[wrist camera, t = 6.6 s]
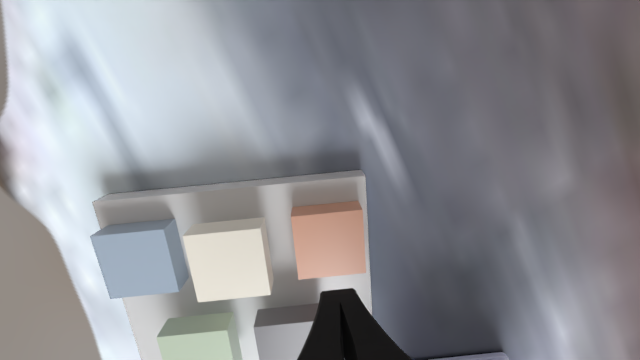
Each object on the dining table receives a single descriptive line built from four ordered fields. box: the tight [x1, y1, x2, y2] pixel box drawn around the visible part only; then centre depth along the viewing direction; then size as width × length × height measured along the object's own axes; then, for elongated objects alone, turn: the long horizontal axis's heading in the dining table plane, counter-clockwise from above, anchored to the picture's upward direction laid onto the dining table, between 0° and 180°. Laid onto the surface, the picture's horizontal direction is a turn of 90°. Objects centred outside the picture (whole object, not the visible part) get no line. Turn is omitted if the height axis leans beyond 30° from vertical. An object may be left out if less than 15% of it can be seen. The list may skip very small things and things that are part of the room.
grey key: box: [253, 303, 319, 360], centre depth 18 cm, size 4×4×2 cm
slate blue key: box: [90, 219, 189, 299], centre depth 18 cm, size 4×4×2 cm
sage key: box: [156, 312, 243, 360], centre depth 18 cm, size 4×4×2 cm
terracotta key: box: [291, 201, 366, 280], centre depth 18 cm, size 4×4×2 cm
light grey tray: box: [92, 170, 372, 360], centre depth 20 cm, size 16×13×2 cm
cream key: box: [183, 217, 274, 302], centre depth 17 cm, size 4×4×2 cm
